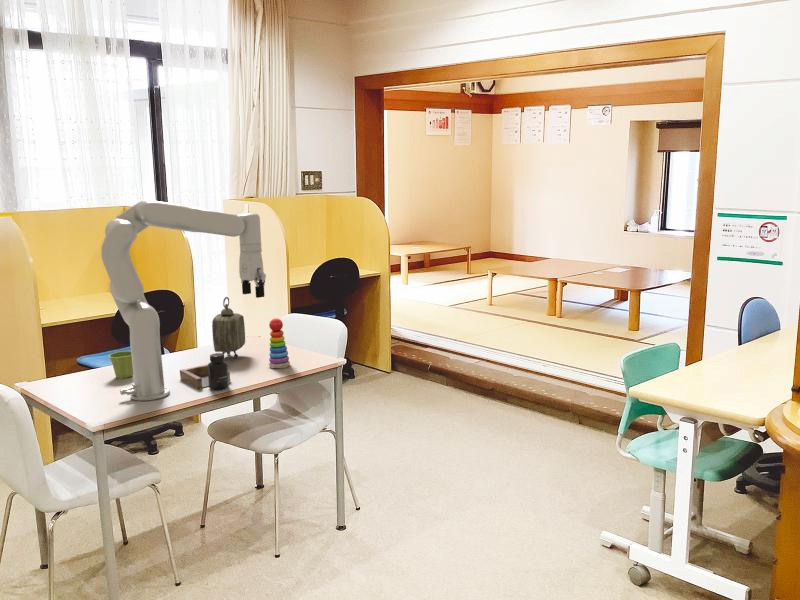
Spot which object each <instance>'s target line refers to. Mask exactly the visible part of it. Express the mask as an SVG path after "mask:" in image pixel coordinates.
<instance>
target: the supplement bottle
mask: <svg viewBox="0 0 800 600" xmlns="http://www.w3.org/2000/svg"><path fill="white" fill-rule="evenodd" d="M209 361H210V362H208V379H209V387H208V389H210V390H211V391H222V390H223V389H224V390H227V389H228V388H229V386H230V382H229V377H228V372H229V365H228V363H227V361H226V359H225V354H223V353H222V352H216V353H212V354H210V355H209ZM226 388H227V389H226Z"/></svg>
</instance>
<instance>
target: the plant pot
mask: <svg viewBox="0 0 800 600" xmlns="http://www.w3.org/2000/svg"><path fill="white" fill-rule="evenodd" d="M108 358H109V359H110V361H111V363H112V367H113V370H114V375H115V378H116V377H117V378H118V379H120V378H121V379H127V378H130V377H134V375H133V365H132V356H131V350H124V351H123V350H122V351H117V352H113V353H110V354H109V355H108Z"/></svg>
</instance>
